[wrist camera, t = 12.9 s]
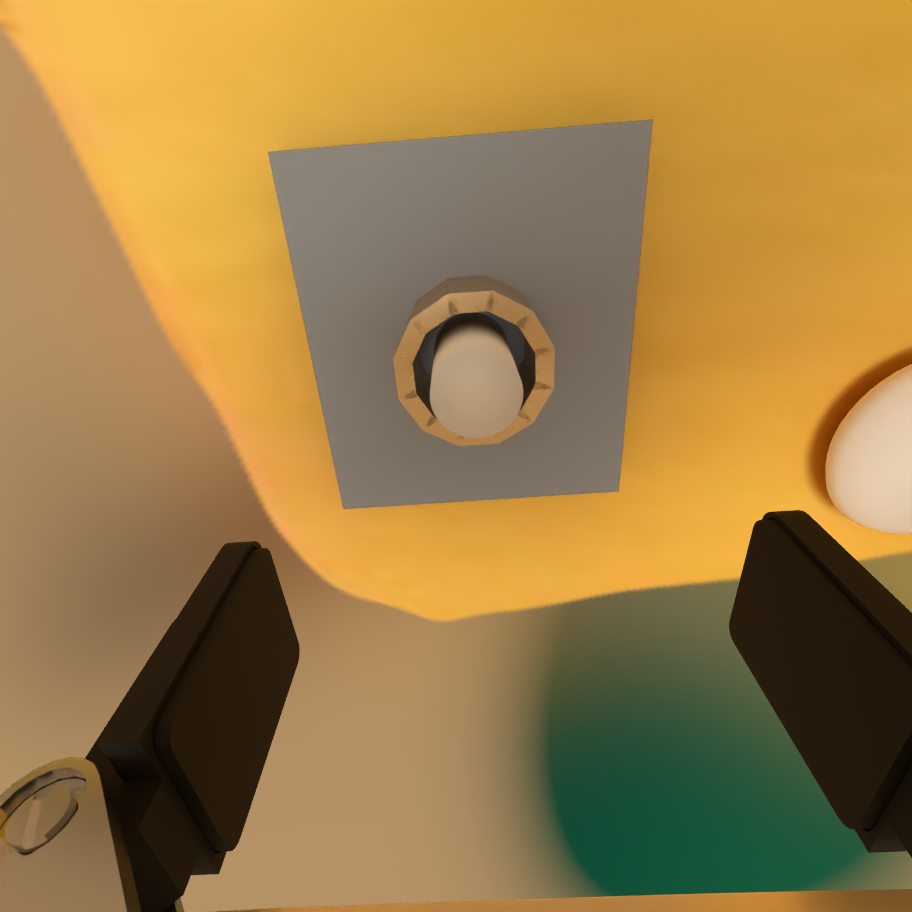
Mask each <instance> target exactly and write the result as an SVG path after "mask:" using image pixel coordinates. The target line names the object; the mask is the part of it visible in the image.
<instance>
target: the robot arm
mask: <svg viewBox="0 0 912 912" xmlns="http://www.w3.org/2000/svg"><path fill="white" fill-rule="evenodd" d="M729 628H730V629H729V630H730V635H731V637H732V640H733V642H734V644H735V646H736V647H737V649H738V650H739V652H740V654H741V656H742V657H743V659H744V661H745V662H746V664H747V665H748V667H749V669H750V670H751V672H752V674H753V676H754V677H755V679H756V681H757V682H758V684H759V686H760V687H761V689H762V691H763V692H764V694H765V696H766V697H767V699H768V700H769V702H770V704H771V706H772V707H773V709H774V711H775V712H776V714H777V716H778V717H779V719H780V721H781V722H782V724H783V726H784V727H785V729H786V731H787V732H788V734H789V736H790V738H791V739H792V741H793V743H794V744H795V746H796V748H797V749H798V751H799V753H800V754H801V756H802V758H803V759H804V761H805V763H806V764H807V766H808V767H809V769H810V771H811V772H812V774H813V776H814V778H815V779H816V781H817V783H818V784H819V786H820V788H821V789H822V791H823V793H824V794H825V796H826V798H827V799H828V801H829V802H830V804H831V806H832V808H833V809H834V811H835V813H836V814H837V816H838V817H839V819H840V820H841V821H842V823H843V824H844V825H845V826H846V827H848V828H850V829H855V831H856V832H857V834H858V836H859V837H860V839H861V841H862V842H863V843H864V845H865V847H866V849H867V850H868V852H897V851H906V850H907V852H908V853H909V854H910V856H911V857H912V613H911V612H910V611H909V610H908V609H907V608H906V607H905V606H904V605H903V604H902V603H901V602H900V601H899V600H898V599H896V598H895V597H894V596H893V595H892V594H891V593H890V592H889V591H888V590H887V589H886V588H885V587H884V586H883V585H882V584H881V583H880V582H879V581H878V580H876V579H875V578H874V577H873V576H872V575H871V574H870V573H869V572H868V571H867V570H866V569H865V568H864V567H863V566H862V565H861V564H860V563H859V562H858V561H857V560H856V559H854V558H853V557H852V556H851V555H850V554H849V553H848V552H847V551H846V550H845V549H844V548H843V547H842V546H841V545H840V544H839V543H838V542H837V541H836V540H835V539H833V538H832V537H831V536H830V535H829V534H828V533H827V532H826V531H825V530H824V529H823V528H822V527H821V526H820V525H819V524H818V523H817V522H816V521H815V520H814V519H812V518H811V517H810V516H809V515H808V514H807V513H805V512H804V511H800V510H795V511H777V512H768V513H766V514H765V515H764V516H763V519H762V520H759V521H757V522H756V523H755V525H754V527H753V531H752V535H751V539H750V543H749V547H748V551H747V555H746V559H745V562H744V566H743V570H742V574H741V578H740V582H739V586H738V590H737V594H736V598H735V602H734V606H733V610H732V614H731V618H730V623H729ZM298 660H299V643H298V640H297V636H296V633H295V630H294V627H293V624H292V620H291V617H290V614H289V611H288V607H287V605H286V601H285V598H284V595H283V591H282V588H281V585H280V582H279V579H278V576H277V572H276V569H275V566H274V563H273V559H272V556H271V553H270V551H269V550H268V549H266V548H263V549H262V548H261V545H260V544H259V543H258V542H255V541H253V542H237V543H227V544H225V545H224V546H223V547H222V548H221V550H220V551H219V553H218V554H217V556H216V558H215V560H214V561H213V563H212V564H211V565H210V567H209V569H208V570H207V572H206V573H205V575H204V576H203V578H202V579H201V581H200V583H199V584H198V586H197V587H196V589H195V590H194V592H193V594H192V595H191V597H190V598H189V600H188V601H187V603H186V605H185V606H184V608H183V609H182V611H181V612H180V614H179V616H178V617H177V618H176V619H175V621H174V622H173V623H172V624H171V626H170V627H169V629H168V630H167V632H166V633H165V635H164V637H163V638H162V640H161V641H160V643H159V644H158V646H157V647H156V649H155V651H154V652H153V654H152V655H151V657H150V658H149V660H148V661H147V663H146V665H145V666H144V668H143V669H142V671H141V672H140V674H139V675H138V677H137V679H136V680H135V682H134V683H133V685H132V686H131V688H130V689H129V691H128V693H127V694H126V696H125V697H124V699H123V700H122V702H121V703H120V705H119V707H118V708H117V710H116V711H115V713H114V714H113V716H112V717H111V719H110V721H109V722H108V724H107V725H106V727H105V728H104V730H103V731H102V733H101V735H100V736H99V738H98V739H97V741H96V742H95V744H94V745H93V747H92V748H91V750H90V752H89V753H88V755H87V756H86V758H77V757H68V758H64V759H60V760H56V761H52V762H50V763H48V764H46V765H43V766H41V767H39V768H37V769H35V770H33V771H31V772H30V773H28V774H27V775H25V776H24V777H22V778H21V779H19V780H18V781H16V782H15V783H13V784H12V785H11V786H10V787H9V788H8V789H7V790H6V791H5V792H3V793H2V794H1V795H0V912H184V909H183V905H182V901H181V898H180V897H181V896H182V895H183V894H184V891H185V889H186V886H187V884H188V881H189V879H190V876H191V875H205V874H219V872H220V869H221V866H222V863H223V860H224V857H225V855H226V852H227V851H232V850H233V849H234V848H235V847H236V846H237V844H238V842H239V839H240V837H241V833H242V831H243V828H244V825H245V822H246V819H247V816H248V813H249V810H250V807H251V804H252V800H253V797H254V795H255V792H256V788H257V785H258V782H259V779H260V776H261V773H262V770H263V767H264V764H265V761H266V758H267V755H268V752H269V749H270V746H271V743H272V740H273V737H274V734H275V730H276V728H277V725H278V722H279V719H280V716H281V713H282V710H283V707H284V704H285V701H286V697H287V694H288V691H289V688H290V685H291V682H292V679H293V676H294V673H295V670H296V667H297V664H298ZM218 912H912V889H909V890H908V889H903V890H901V889H900V890H898V889H897V890H895V889H894V890H835V891H797V892H756V893H717V894H679V895H645V896H613V897H612V896H611V897H580V898H579V897H578V898H548V899H547V898H546V899H514V900H482V901H452V902H427V903H399V904H398V903H397V904H370V905H343V906H315V907H289V908H270V909H254V910H235V911H218Z"/></svg>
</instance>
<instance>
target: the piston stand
mask: <svg viewBox="0 0 912 912" xmlns="http://www.w3.org/2000/svg"><path fill="white" fill-rule="evenodd" d="M651 131H652V120H641V121H629V122H617V123H606V124H594V125H582V126H570V127H558V128H547V129H535V130H523V131H511V132H499V133H487V134H476V135H464V136H452V137H440V138H428V139H416V140H405V141H393V142H381V143H369V144H357V145H345V146H334V147H322V148H310V149H298V150H286V151H275V152H268V154H269V159H270V164H271V169H272V173H273V178H274V183H275V187H276V192H277V197H278V202H279V206H280V211H281V216H282V221H283V225H284V230H285V235H286V240H287V244H288V249H289V254H290V259H291V263H292V268H293V273H294V277H295V282H296V287H297V292H298V296H299V301H300V306H301V311H302V315H303V320H304V325H305V330H306V334H307V339H308V344H309V349H310V353H311V358H312V363H313V367H314V372H315V377H316V382H317V386H318V391H319V396H320V401H321V405H322V410H323V415H324V420H325V424H326V429H327V434H328V439H329V443H330V448H331V453H332V457H333V462H334V467H335V472H336V476H337V481H338V486H339V491H340V495H341V500H342V505H343V509H353V508H369V507H384V506H400V505H415V504H431V503H446V502H462V501H477V500H492V499H508V498H523V497H539V496H554V495H570V494H585V493H601V492H616V491H619V482H620V471H621V460H622V449H623V438H624V427H625V416H626V405H627V394H628V383H629V372H630V361H631V351H632V340H633V329H634V318H635V307H636V296H637V285H638V274H639V263H640V252H641V241H642V230H643V219H644V208H645V197H646V186H647V175H648V164H649V153H650V142H651ZM479 275H488V276H490V277H492V278H494V279H496V280H498V281H500V282H502V283H504V284H506V285H507V286H509V287H511V288H513V289H515V290H517V291H519V292H521V293H522V295H523V296H524V298H525V299H526V301H527V302H528V304H529V306H530V307H531V309H532V310H533V312H534V313H535V315H536V317H537V318H538V320H539V322H540V324H541V325H542V327H543V329H544V330H545V332H546V334H547V335H548V337H549V339H550V340H551V342H552V344H553V345H554V347H555V363H554V389H553V391H552V393H551V394H550V396H549V398H548V399H547V401H546V403H545V404H544V406H543V408H542V409H541V411H540V412H539V414H538V416H537V417H536V419H535V421H534V422H533V423H532V424H531V425H529V426H527V427H526V428H524V429H522V430H521V431H519V432H517V433H516V434H514V435H512V436H511V437H509V438H507V439H505V440H504V441H502V442H500V443H498V444H485V445H470V446H457V445H455V444H453V443H450V442H448V441H446V440H443V439H441V438H439V437H436V436H434V435H432V434H429V433H427V432H425V431H423V430H422V429H421V428H420V426H419V425H418V424H417V423H416V421H415V420H414V419H413V417H412V416H411V415H410V414H409V412H408V411H407V410H406V409H405V407H404V406H403V405H402V403H401V402H400V401H399V399H398V392H397V385H396V377H395V370H394V363H393V358H394V355H395V352H396V349H397V346H398V343H399V340H400V337H401V335H402V332H403V330H404V328H405V325H406V323H407V321H408V318H409V316H410V314H411V312H412V309H413V307H414V305H415V302H416V300H418V299H419V298H420V297H422V296H423V295H425V294H426V293H427V292H429V291H430V290H432V289H433V288H434V287H436V286H437V285H439V284H440V283H441V282H443V281H444V280H446V279H447V278H453V277H466V276H479ZM419 351H420V360H421V366H422V367H423V368H424V370H425V371H426V373H427V374H428V375H429V377H430V378H431V386H430V403H431V407H432V410H433V412H434V414H435V416H436V418H437V419H438V420H439V422H440V423H441V424H442V425H443V426H444V427H445V428H447V429H448V430H450V431H451V432H453V433H455V434H457V435H460V436H463V437H468V438H482V437H488V436H491V435H494V434H496V433H498V432H500V431H502V430H503V429H505V428H506V427H507V426H508V425H510V424H511V422H512V421H513V420H514V419H515V417H516V416H517V414H518V412H519V410H520V408H521V405H522V401H523V385H522V381H521V378H520V376H519V373H518V370H517V369H518V368H519V366H520V364H521V362H522V360H523V359H524V334H523V333H522V331H521V329H520V328H519V326H517V325H515V324H513V323H511V322H509V321H507V320H505V319H503V318H501V317H499V316H497V315H495V314H493V313H491V312H489V311H486V312H473V313H459V314H453V315H452V316H450V317H449V318H447V319H446V320H444V321H443V322H442V323H440V324H439V325H437V326H436V327H434V328H433V329H431V330H430V331H429V332H427V333H426V334H425V337H424V339H423V341H422V343H421V345H420V348H419Z"/></svg>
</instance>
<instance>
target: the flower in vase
mask: <svg viewBox="0 0 912 912" xmlns="http://www.w3.org/2000/svg"><path fill="white" fill-rule="evenodd" d="M825 466H826V486H827V491H828V494H829V496H830V499H831V501H832V502H833V504H834V506H835V507H836V508H837V509H838V510H839V512H840V513H841V514H842V515H844V516H845V517H847V518H848V519H849V520H851V521H853V522H855V523H857V524H859V525H863V526H866V527H869V528H872V529H875V530H879V531H882V532H888V533H900V534H907V533H912V364H910V365H908V366H906V367H904V368H902V369H900V370H898V371H897V372H895V373H893V374H892V375H890V376H889V377H887V378H885V379H884V380H882V381H881V382H880V383H878V384H877V385H876V386H874V387H873V388H872V389H871V390H869V391H868V392H867V393H866V394H865V395H864V396H863V397H862V398H861V399H860V400H859V401H858V402H857V403H856V404H855V405H854V406H853V408H852V409H851V410H850V411H849V412H848V414H847V415H846V416H845V418H844V419H843V420H842V422H841V423H840V425H839V427H838V428H837V430H836V432H835V434H834V436H833V438H832V441H831V443H830V446H829V449H828V453H827V458H826V465H825Z"/></svg>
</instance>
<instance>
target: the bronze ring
mask: <svg viewBox="0 0 912 912" xmlns="http://www.w3.org/2000/svg"><path fill="white" fill-rule="evenodd" d="M486 311H489V312H491V313H493V314H495V315H497V316H499V317H501V318H503V319H505V320H507V321H509V322H511V323H513V324H515V325H517V326H519V328H520V329H521V331H522V333H523V334H524V359H523V360H522V362H521V364H520V366H519V368H518V369H517V370H518V373H519V376H520V378H521V381H522V385H523V401H522V405H521V408H520V410H519V412H518V414H517V416H516V417H515V419H514V420H513V421H512V422H511V424H510V425H508V426H507V427H506V428H505V429H503V430H502V431H500V432H498V433H496V434H494V435H491V436H488V437H482V438H468V437H463V436H460V435H457V434H455V433H453V432H451V431H450V430H448V429H447V428H445V427H444V426H443V425H442V424H441V423H440V422H439V420H438V419H437V418H436V416H435V414H434V412H433V410H432V407H431V403H430V386H431V378H430V377H429V375H428V374H427V373H426V371H425V370H424V368H423V367H422V366H421V360H420V351H419V348H420V345H421V343H422V341H423V339H424V337H425V334H426V333H427V332H429V331H430V330H431V329H433V328H434V327H436V326H437V325H439V324H440V323H442V322H443V321H444V320H446V319H447V318H449V317H450V316H452V315H453V314H459V313H473V312H486ZM393 363H394V370H395V377H396V385H397V392H398V399H399V401H400V402H401V403H402V405H403V406H404V407H405V409H406V410H407V411H408V412H409V414H410V415H411V416H412V417H413V419H414V420H415V421H416V423H417V424H418V425H419V426H420V428H421V429H422V430H423V431H425V432H427V433H429V434H432V435H434V436H436V437H439V438H441V439H443V440H446V441H448V442H450V443H453V444H455V445H457V446H470V445H485V444H498V443H500V442H502V441H504V440H505V439H507V438H509V437H511V436H512V435H514V434H516V433H517V432H519V431H521V430H522V429H524V428H526V427H527V426H529V425H531V424H532V423H533V422H534V421H535V419H536V417H537V416H538V414H539V412H540V411H541V409H542V408H543V406H544V404H545V403H546V401H547V399H548V398H549V396H550V394H551V393H552V391H553V389H554V363H555V347H554V345H553V344H552V342H551V340H550V339H549V337H548V335H547V334H546V332H545V330H544V329H543V327H542V325H541V324H540V322H539V320H538V318H537V317H536V315H535V313H534V312H533V310H532V309H531V307H530V306H529V304H528V302H527V301H526V299H525V298H524V296H523V295H522V293H521V292H519V291H517V290H515V289H513V288H511V287H509V286H507V285H506V284H504V283H502V282H500V281H498V280H496V279H494V278H492V277H490V276H488V275H479V276H466V277H453V278H447V279H446V280H444V281H443V282H441V283H440V284H439V285H437V286H436V287H434V288H433V289H432V290H430V291H429V292H427V293H426V294H425V295H423V296H422V297H420V298H419V299H418V300H416V302H415V305H414V307H413V309H412V312H411V314H410V316H409V318H408V321H407V323H406V325H405V328H404V330H403V332H402V335H401V337H400V340H399V343H398V346H397V349H396V352H395V355H394V358H393Z"/></svg>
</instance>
